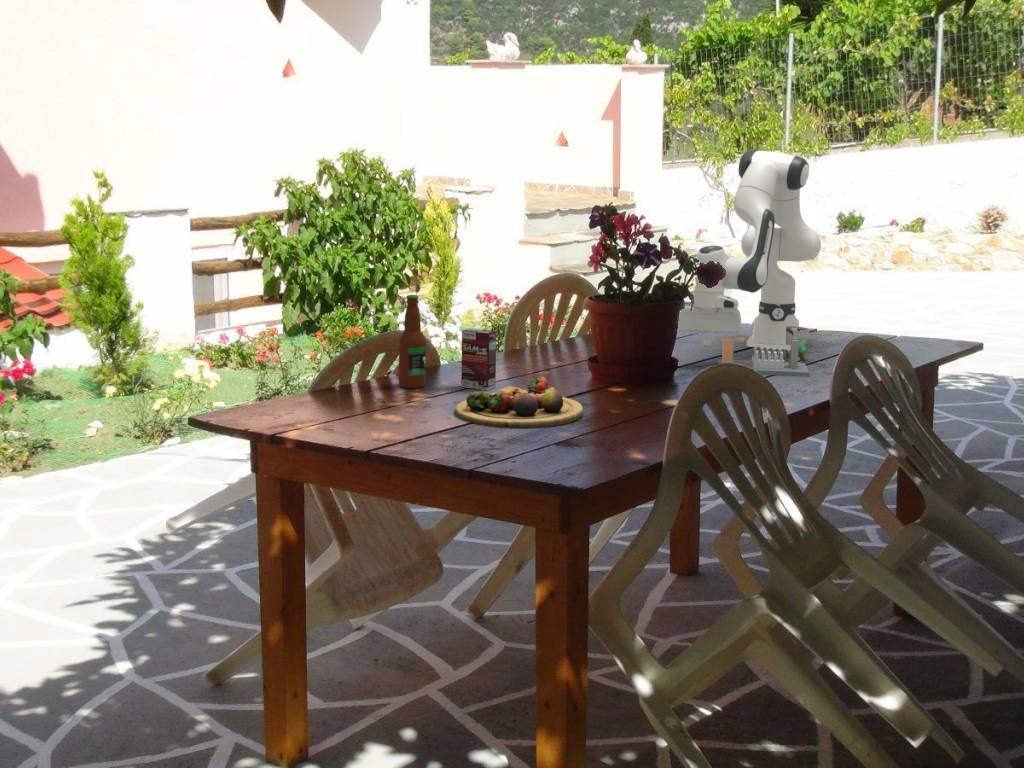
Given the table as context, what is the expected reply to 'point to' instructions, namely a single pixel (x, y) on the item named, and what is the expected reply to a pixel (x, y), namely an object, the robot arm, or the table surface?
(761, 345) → the light grey flat bar
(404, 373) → the bottle
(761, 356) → the heat sink
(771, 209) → the robot arm
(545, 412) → the wooden plate with food
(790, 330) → the food container
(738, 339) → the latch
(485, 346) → the supplement box
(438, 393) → the table surface
